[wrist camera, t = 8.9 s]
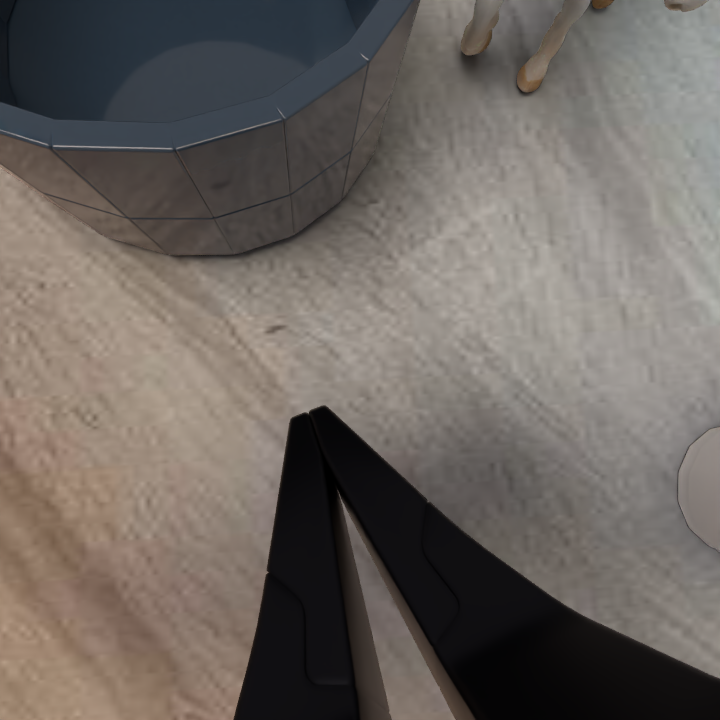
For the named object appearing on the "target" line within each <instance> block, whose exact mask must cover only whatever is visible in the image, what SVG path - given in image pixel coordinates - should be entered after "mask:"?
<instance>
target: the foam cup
mask: <svg viewBox="0 0 720 720" xmlns="http://www.w3.org/2000/svg"><path fill="white" fill-rule="evenodd" d="M678 502H679V505H680V507H681V509H682V512H683V514H684V517H685V519H686V522H687V524H688V527H689V528H690V529H691V530H692V531H693V532H694V533H695V534H696V535H697V536H698V537H700V538H701V539H702V540H703V541H704V542H705V543H706V544H707V545H708V546H710V547H712V548H715V549H717V550H718V551H719V552H720V427H718V428H713V429H709V430H708V431H707V432H706V433H705V434H703V435H702V436H701V437H700V438H699V439H698V440H696V441H695V442H694V443H693V444H692V445H691V446H690V447H689V449H688V451H687V454H686V456H685V458H684V460H683V463H682V465H681V467H680V469H679V472H678Z"/></svg>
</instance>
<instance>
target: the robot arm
mask: <svg viewBox="0 0 720 720" xmlns="http://www.w3.org/2000/svg"><path fill="white" fill-rule="evenodd" d="M337 489H338V490H337ZM338 492H339V493H338ZM339 494H340V496H339ZM340 497H341V499H342V501H343V503H344V505H345V507H346V509H347V511H348V513H349V515H350V517H351V519H352V521H353V523H354V524H355V526H356V528H357V530H358V532H359V534H360V536H361V538H362V540H363V542H364V544H365V546H366V548H367V550H368V551H369V553H370V555H371V557H372V559H373V561H374V563H375V565H376V567H377V569H378V571H379V573H380V575H381V577H382V578H383V580H384V582H385V584H386V586H387V588H388V590H389V592H390V594H391V596H392V598H393V600H394V602H395V604H396V605H397V607H398V609H399V611H400V613H401V615H402V617H403V619H404V621H405V623H406V625H407V627H408V629H409V631H410V632H411V634H412V636H413V638H414V640H415V642H416V644H417V646H418V648H419V650H420V652H421V654H422V656H423V658H424V659H425V661H426V663H427V665H428V667H429V669H430V671H431V673H432V675H433V677H434V679H435V681H436V683H437V685H438V686H439V687H440V690H441V692H442V694H443V696H444V698H445V700H446V702H447V704H448V706H449V708H450V710H451V712H452V713H453V715H454V717H455V719H456V720H720V679H719V678H717V677H714V676H712V675H709V674H707V673H705V672H703V671H701V670H698V669H696V668H694V667H692V666H690V665H688V664H685V663H683V662H681V661H679V660H677V659H675V658H673V657H670V656H668V655H666V654H664V653H662V652H660V651H658V650H655V649H653V648H651V647H649V646H647V645H645V644H643V643H640V642H638V641H636V640H634V639H632V638H630V637H627V636H625V635H623V634H621V633H619V632H617V631H615V630H612V629H610V628H608V627H606V626H604V625H602V624H600V623H597V622H595V621H593V620H591V619H589V618H587V617H585V616H583V615H581V614H579V613H578V612H576V611H574V610H572V609H571V608H569V607H567V606H566V605H564V604H563V603H561V602H560V601H558V600H556V599H555V598H553V597H552V596H551V595H549V594H548V593H546V592H545V591H543V590H542V589H541V588H539V587H538V586H536V585H535V584H534V583H532V582H531V581H530V580H528V579H527V578H525V577H524V576H523V575H521V574H520V573H518V572H517V571H516V570H514V569H513V568H512V567H510V566H509V565H507V564H506V563H505V562H503V561H502V560H501V559H499V558H498V557H496V556H495V555H494V554H492V553H491V552H490V551H488V550H487V549H485V548H484V547H483V546H482V545H480V544H479V543H478V542H476V541H475V540H474V539H473V538H471V537H470V536H469V535H467V534H466V533H465V532H464V531H462V530H461V529H460V528H459V527H458V526H457V525H455V524H454V523H453V522H452V521H451V520H450V519H449V518H447V517H446V516H445V515H444V514H443V513H442V512H441V511H440V510H438V509H437V508H436V507H435V506H434V505H433V504H432V503H431V502H428V501H427V499H426V498H425V497H424V496H423V495H422V494H421V493H420V492H419V491H418V490H417V489H416V488H414V487H413V486H412V485H411V484H410V483H409V482H408V481H407V480H406V479H405V478H404V477H403V476H401V475H400V474H399V473H398V472H397V471H396V470H395V469H394V468H393V467H392V466H391V465H390V464H389V463H387V462H386V461H385V460H384V459H383V458H382V457H381V456H380V455H379V454H378V453H377V452H376V451H374V450H373V449H372V448H371V447H370V446H369V445H368V444H367V443H366V442H365V441H364V440H363V439H362V438H360V437H359V436H358V435H357V434H356V433H355V432H354V431H353V430H352V429H351V428H350V427H349V426H348V425H346V424H345V423H344V422H343V421H342V420H341V419H340V418H339V417H338V416H337V415H336V414H335V413H333V412H332V411H331V410H330V409H329V408H328V407H327V406H325V405H323V406H320V407H317V408H315V409H312V410H310V411H309V414H308V413H306V412H305V413H302V414H299V415H297V416H294V417H292V418H291V419H290V423H289V429H288V436H287V442H286V449H285V455H284V462H283V468H282V475H281V481H280V488H279V494H278V501H277V507H276V513H275V520H274V526H273V533H272V539H271V546H270V552H269V559H268V565H267V571H268V572H269V573H267V574H266V577H265V583H264V590H263V596H262V602H261V607H260V613H259V618H258V623H257V628H256V633H255V637H254V641H253V645H252V650H251V654H250V658H249V662H248V666H247V670H246V674H245V677H244V681H243V685H242V689H241V693H240V697H239V700H238V704H237V708H236V712H235V716H234V720H392V719H391V715H390V713H389V706H388V702H387V697H386V693H385V689H384V684H383V680H382V676H381V671H380V667H379V663H378V658H377V654H376V650H375V645H374V641H373V637H372V632H371V628H370V624H369V619H368V615H367V611H366V606H365V602H364V598H363V593H362V589H361V585H360V580H359V576H358V572H357V567H356V563H355V559H354V554H353V550H352V546H351V541H350V537H349V533H348V528H347V524H346V520H345V515H344V511H343V507H342V503H341V499H340Z"/></svg>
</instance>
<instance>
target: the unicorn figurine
mask: <svg viewBox="0 0 720 720" xmlns="http://www.w3.org/2000/svg"><path fill="white" fill-rule="evenodd" d="M503 1H504V0H476V3H475V8H474V15H473V18H472V20H471V21H470V23H469V24H468V25H467V26H466V29H465V31H464V34H463V37H462V40H461V50H462V52H463V53H464V54H466V55H475V54H477V53H481V52H482V51H484V50H485V49H486V48H487V46H488V45H489V43H490V40H491V37H492V28H494V27H495V26H496V24H497V22H498V20H499V11H498V9H499V8H500V6H501V4H502V3H503ZM590 1H591V0H565V1H564V4H563V7H562V11H561V12H559V13H558V15H557V16H556V17H555V19H554V23H553V24H552V26H551V27H550V29H549V30H548V32H547V33H546V35H545V37H544V39H543V41H542V44H541V47H540V49H539V51H538V52H537V53H536V54H535V55H533V56H532V57H531V58H530V59H529V60H528V62H527V63H526V64H525V65H524V66H523V67H522V68H521V69H520V70H519V72H518V75H517V84H518V86H519V88H520V89H521V90H522V91H523V92H532V91H534V90H536V89H537V88H538V87H539V86H540V84H541V82H542V80H543V78H544V76H545V74H546V72H547V68H548V64H549V61H550V60H551V58H552V57H553V56H554V55H555V54H556V53H557V52H558V50H559V49H560V47H561V45H562V43H563V41H564V39H565V35H566V33H567V31H568V30H569V29H570V27H571V26H572V25H573V23H574V22H575V21H577V20H578V19H579V18H580V17H581V16H582V15H583V14H584V12H585V11H586V9H587V7H588V6H589V3H590ZM613 1H614V0H592V5H593V7H594V8H597V9H599V8H606V7H607V6H609V5H610V4H611V3H612V2H613ZM707 1H708V0H664V3H665V6H666V7H667V8H668V9H669V10H675V11H678V10H681V11H682V12H686V11H691V10H694V9H696V8H698V7H700V6H702V5H703V4H705V3H706V2H707Z"/></svg>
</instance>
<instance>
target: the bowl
mask: <svg viewBox="0 0 720 720" xmlns="http://www.w3.org/2000/svg"><path fill="white" fill-rule="evenodd" d="M419 2H420V0H0V168H2V169H3V170H5V171H6V172H8V173H9V174H11V175H12V176H14V177H15V178H16V179H18V180H19V181H21V182H22V183H24V184H25V185H27V186H28V187H30V188H31V189H32V190H34V191H35V192H37V193H38V194H40V195H41V196H43V197H44V198H46V199H47V200H49V201H50V202H52V203H53V204H55V205H56V206H58V207H59V208H61V209H62V210H64V211H65V212H67V213H68V214H70V215H72V216H73V217H75V218H76V219H78V220H79V221H81V222H82V223H84V224H85V225H87V226H88V227H90V228H92V229H93V230H95V231H96V232H98V233H99V234H101V235H104V236H105V237H108V238H111V239H115V240H118V241H122V242H125V243H129V244H132V245H135V246H139V247H142V248H146V249H149V250H153V251H156V252H159V253H163V254H166V255H169V254H170V255H233V254H239V253H242V252H245V251H248V250H251V249H254V248H258V247H261V246H264V245H267V244H270V243H273V242H276V241H279V240H282V239H285V238H288V237H291V236H293V235H294V234H297V233H298V232H299V231H301V230H302V229H303V228H305V227H306V226H308V225H309V224H310V223H312V222H313V221H314V220H316V219H317V218H318V217H320V216H321V215H322V214H324V213H325V212H327V211H328V210H329V209H331V208H332V207H333V206H335V205H336V204H337V203H339V202H340V201H341V200H342V199H343V198H344V197H345V195H346V194H347V192H348V191H349V189H350V188H351V186H352V185H353V183H354V182H355V181H356V179H357V178H358V176H359V175H360V173H361V172H362V170H363V169H364V168H365V166H366V165H367V163H368V162H369V160H370V159H371V157H372V156H373V154H374V152H375V148H376V145H377V142H378V138H379V135H380V132H381V129H382V125H383V122H384V119H385V115H386V112H387V109H388V105H389V102H390V99H391V95H392V92H393V89H394V85H395V82H396V79H397V75H398V72H399V69H400V65H401V62H402V59H403V55H404V52H405V49H406V46H407V42H408V39H409V36H410V32H411V29H412V26H413V22H414V19H415V16H416V12H417V9H418V6H419Z"/></svg>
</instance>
